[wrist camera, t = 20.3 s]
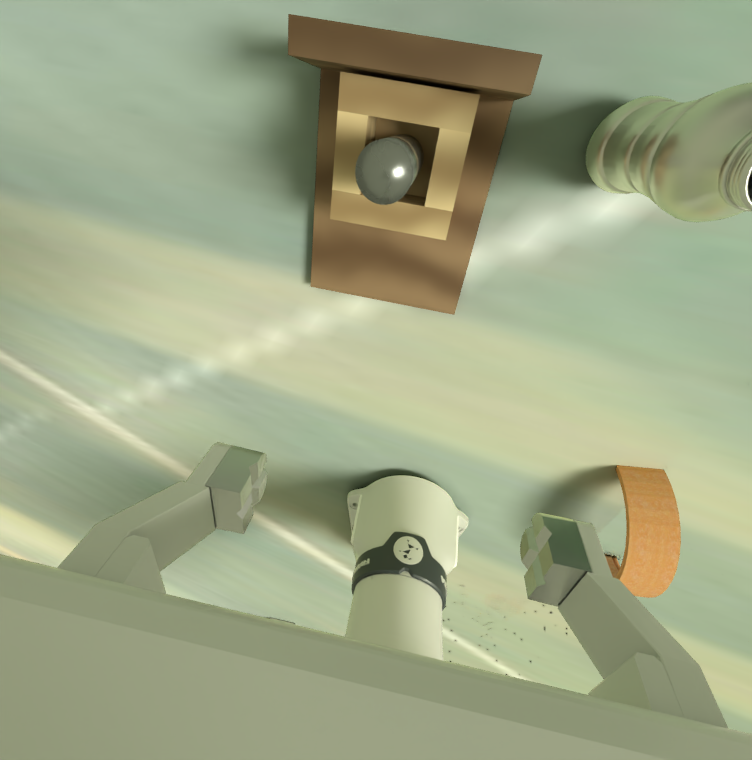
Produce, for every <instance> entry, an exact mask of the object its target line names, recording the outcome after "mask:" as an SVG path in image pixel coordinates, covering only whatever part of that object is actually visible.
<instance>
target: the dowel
mask: <svg viewBox="0 0 752 760" xmlns="http://www.w3.org/2000/svg"><path fill="white" fill-rule="evenodd" d="M423 160H424V154H423V149H422V146H421V144H420V143H419V141H418V140H417V139H416V138H414V137H413V136H411V135H408V134H399V135H395V136H391V137H387V138H383V139H379V140H376V141H373V142H371V143H370V144H368V145H367V146H366V147H365V148H364V149H363V150H362V151H361V153H360V155H359V157H358V159H357V162H356V167H355V177H356V182H357V185H358V187H359V189H360V191H361V192H362V194H363V195H364V196H365V197H366V198H367V199H368V200H370V201H371V202H373V203H376V204H380V205H388V204H392V203H395V202H397V201H398V200H400V199H401V198H402V197H403V196H404V195H405V194H406V193H407V191H408V190H409V188H410V186H411V185H412V183H413V181H414V180H415V178H416V177H417V175H418V173H419V172H420V170H421V168H422V165H423Z"/></svg>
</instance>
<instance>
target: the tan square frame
mask: <svg viewBox="0 0 752 760" xmlns="http://www.w3.org/2000/svg"><path fill="white" fill-rule="evenodd" d="M479 98H480V95H478V94H472V93H466V92H460V91H454V90H448V89H442V88H436V87H430V86H424V85H418V84H412V83H406V82H400V81H394V80H388V79H383V78H377V77H371V76H365V75H359V74H353V73H347V72H341V71H340V85H339V99H338V113H337V128H336V142H335V156H334V170H333V185H332V199H331V213H330V219H333V220H339V221H344V222H349V223H355V224H360V225H365V226H371V227H376V228H381V229H387V230H392V231H398V232H403V233H408V234H414V235H419V236H424V237H430V238H435V239H440V240H446V237H447V233H448V229H449V225H450V220H451V216H452V212H453V208H454V203H455V199H456V195H457V191H458V186H459V182H460V178H461V174H462V170H463V165H464V161H465V157H466V153H467V148H468V144H469V140H470V136H471V131H472V127H473V123H474V119H475V114H476V110H477V106H478V102H479ZM399 134H408V135H411V136H413V137H414V138H416V139H417V140H418V141H419V143H420V144H421V146H422V149H423V154H424V160H423V165H422V168H421V170H420V172H419V173H418V175H417V177H416V178H415V180H414V181H413V183H412V185H411V186H410V188H409V190H408V191H407V193H406V194H405V195H404V196H403V197H402V198H401V199H400V200H398V201H397V202H395V203H392V204H388V205H380V204H376V203H373V202H371V201H370V200H368V199H367V198H366V197H365V196H364V195H363V194H362V192H361V191H360V189H359V187H358V185H357V182H356V177H355V167H356V162H357V159H358V157H359V155H360V153H361V151H362V150H363V149H364V148H365V147H366V146H367V145H368V144H370V143H371V142H373V141H376V140H379V139H383V138H387V137H391V136H395V135H399Z"/></svg>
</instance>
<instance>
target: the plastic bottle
mask: <svg viewBox="0 0 752 760" xmlns="http://www.w3.org/2000/svg"><path fill="white" fill-rule="evenodd" d="M586 167H587V171H588V173H589V175H590V177H591V179H592V180H593V182H594V183H595V184H596V185H597V186H598V187H599V188H601V189H603V190H604V191H607V192H610V193H619V194H627V193H641V194H643V195H645V196H647V197H649V198H650V199H651V200H652V201H653V202H654V203H655V204H657V205H658V206H659V207H660V208H661V209H662V210H664V211H665V212H667V213H668V214H670V215H672V216H673V217H675V218H677V219H680V220H684V221H689V222H706V221H714V220H721V219H725V218H729V217H732V216H735V215H738V214H740V213H742V212H745V211H752V83H746V84H741V85H737V86H733V87H730V88H727V89H724V90H721V91H718V92H716V93H713V94H711V95H708V96H706V97H703V98H700V99H698V100H694V101H689V102H685V103H681V102H676V101H674V100H671V99H668V98H664V97H660V96H646V97H640V98H637V99H634V100H632V101H629V102H628V103H626V104H624V105H622V106H620V107H619V108H617V109H616V110H614V111H613V112H612V113H611V114H609V115H608V116H607V117H606V118H605V119H604V120H603V121H602V122H601V123H600V124H599V126H598V127H597V128H596V130H595V131H594V133H593V135H592V137H591V139H590V141H589V144H588V147H587V152H586Z"/></svg>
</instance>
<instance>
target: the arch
mask: <svg viewBox="0 0 752 760" xmlns="http://www.w3.org/2000/svg"><path fill="white" fill-rule="evenodd" d="M616 467H617V468H616V469H615V470H616V472H617V475H618V477H619V480H620V483H621V487H622V491H623V495H624V501H625V508H626V520H627V536H626V547H625V552H624V558H623V561H622V564H621V567H620V565H619V563H618V561H617V558H616V556H611V555H605V557H606V560H607V563H608V565H609V568H610V571H611V574H612V576H613V578H616V579H619V580H620V581H621V582H622V583H623V584H624V585H625V587H626V588H627V589H628V590H629V591H630V592H631V593H632V594H633V595H634V596H640V597H648V598H649V597H656V596H659V595H661V594H662V593H663V592H664V591H665V590H666V589H667V588H668V587H669V585H670V583H671V582H672V580H673V577H674V575H675V572H676V570H677V565H678V561H679V555H680V544H681V537H680V521H679V512H678V508H677V503H676V499H675V495H674V492H673V489H672V486H671V484H670V482H669V479H668V477H667V475H666V473H665V471H664V470H662V469H651V468H640V467H630V466H619V465H617V466H616Z"/></svg>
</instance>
